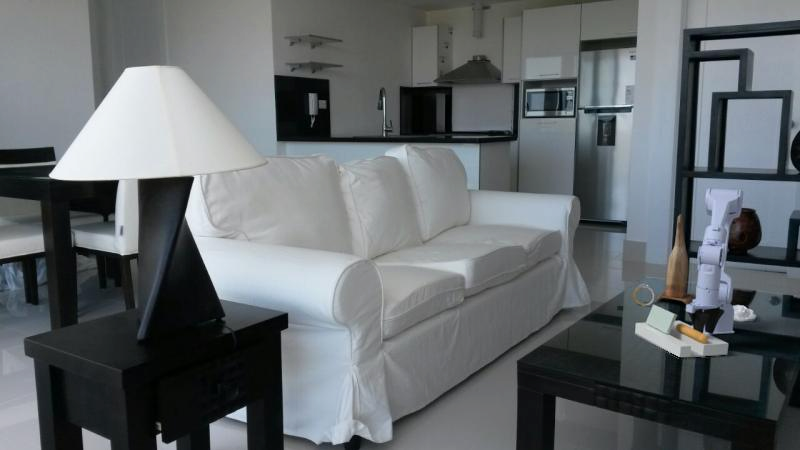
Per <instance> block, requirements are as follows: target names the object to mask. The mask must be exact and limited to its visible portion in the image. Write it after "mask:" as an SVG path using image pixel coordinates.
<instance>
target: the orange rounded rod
mask: <svg viewBox="0 0 800 450" xmlns="http://www.w3.org/2000/svg"><path fill="white" fill-rule="evenodd" d="M676 330H677V331H679V332H681V333H683V334H685V335H687V336H689V337H691V338H693V339H695V340H697V341H699V342H701V343H706V342H707V340H708V337H707V336H706V335H705V334H703V333H701V332H699V331H697V330H694V329H692V328H690V327H688V326H686V325H684V324H681V323H679V324H677V325H676Z"/></svg>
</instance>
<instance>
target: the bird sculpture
mask: <svg viewBox="0 0 800 450" xmlns="http://www.w3.org/2000/svg"><path fill="white" fill-rule="evenodd" d="M676 221H677V222H676V231H675V232H676V235H675V240H674V241H675V242H674V246H673V249H672V251H671V253H670V254H669V255H668V256H669V257H668V262H667V269H666V280H665V281H666V282H665V289H664V291H662V293H661V294H660V295H658V297H657V298H656V301H655V302H656V303H657V302H658V301H660V300H662V299H669V300H676V301H681V302H682V303H684V304H685V306H686V305H687V304H690V303H692V301H693V299H695V296H694V294H692V293H687V286H688V285H687V284H688V277H689V276H688V274H689V257H688V253H687V248H686V242H685V234H684V233H685V232H684V220H683V215H682V214H681V213H680V214H679V215H678V216H677V220H676Z"/></svg>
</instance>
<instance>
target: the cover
mask: <svg viewBox="0 0 800 450" xmlns="http://www.w3.org/2000/svg"><path fill="white" fill-rule="evenodd" d="M650 309H651V310H650V311H649V314H648V317H647V318H646V320H645V323H647V324H649V325H651V326H653V327H655V328H657V329H659V330H660V331H662V332H664V333H666V334H670V331H671V329H672V327H673V324H674V322H675V321H676V319H677V317H678V314H676V313H673V312H671V311H669V310H667V309H664V308H663V307H660V306H658V305H656V304H652V306H651V308H650Z"/></svg>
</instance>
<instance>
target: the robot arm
mask: <svg viewBox="0 0 800 450" xmlns="http://www.w3.org/2000/svg"><path fill="white" fill-rule="evenodd" d="M743 200H744V191H743V190H742V189H729V188H727V189H726V188H715V187H714V188H713V187H708V188H707V189H706V192H705V200H704V204H705V205H704V206H705V211H706V215H708V216H710V217H711V219H710V220H711V221H710V225H707V226H706V228H705V230H704V234H703V235H704V236H703V240H702V244H701V246H700V245H699V247H698V251H697V258H696V259H697V271H698V273H697V282H696V287H695V298H694V299H693V301H692V303H690V304H687V305H686V304H685V312H687V314H688V315H689V318H690V320H691V326H692V327H693V329H694V330H697V331H699V332H701V333H703V332H705V333H707V334H709V335H719V334H720V335H721V334H734V333H735V331H734V330H733V329H734V308H733V306H734V305H732V303H731V302H732V301H733V294H734V293H733V292H734V280H733V277H731V276H730V275H729V274H728V273H727V272H726V271H725V270H726V262H727V261H726V260H727V254H728V247H729V245H728V244H729V239H730V229H731V228H730V227H731V224H732V222H733V220H734V219H737V218H740V215H741V213H742V207H743Z"/></svg>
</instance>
